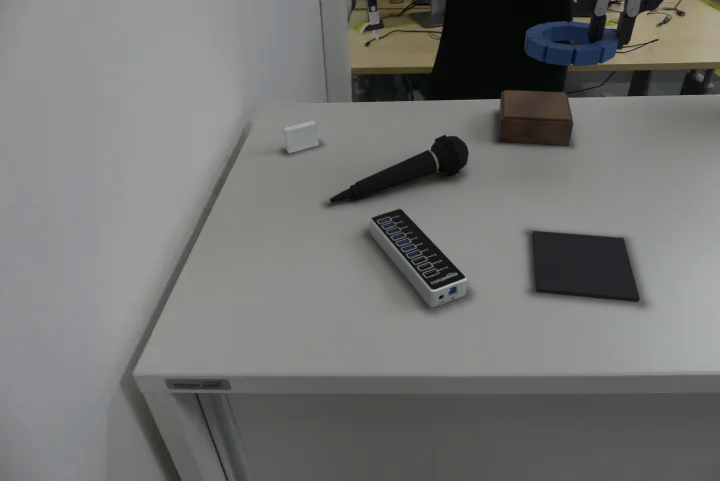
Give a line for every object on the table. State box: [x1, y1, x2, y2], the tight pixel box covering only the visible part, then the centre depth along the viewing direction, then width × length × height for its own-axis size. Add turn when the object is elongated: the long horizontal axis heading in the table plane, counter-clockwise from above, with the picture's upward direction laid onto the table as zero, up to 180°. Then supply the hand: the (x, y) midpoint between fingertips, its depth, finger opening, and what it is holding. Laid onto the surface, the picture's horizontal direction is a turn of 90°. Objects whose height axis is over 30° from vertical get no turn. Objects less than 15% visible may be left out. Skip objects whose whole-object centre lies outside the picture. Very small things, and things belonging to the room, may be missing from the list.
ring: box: [524, 20, 619, 67], centre depth 65 cm, size 10×10×2 cm
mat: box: [532, 230, 641, 302], centre depth 61 cm, size 10×10×1 cm
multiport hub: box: [369, 208, 468, 309], centre depth 62 cm, size 4×14×2 cm, turn 25°
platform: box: [498, 89, 574, 146], centre depth 85 cm, size 10×10×4 cm
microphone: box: [329, 134, 470, 204], centre depth 74 cm, size 6×6×20 cm
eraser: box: [282, 120, 320, 154], centre depth 84 cm, size 1×5×4 cm, turn 116°
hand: (606, 46), depth 65 cm, fingers closed on ring, 2 cm apart
